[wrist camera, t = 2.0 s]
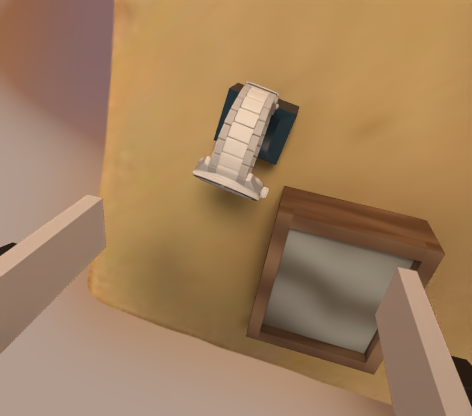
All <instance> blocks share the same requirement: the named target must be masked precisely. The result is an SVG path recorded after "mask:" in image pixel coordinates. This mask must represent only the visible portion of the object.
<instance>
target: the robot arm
mask: <svg viewBox="0 0 472 416" xmlns="http://www.w3.org/2000/svg"><path fill="white" fill-rule="evenodd" d="M105 247H106V239H105V225H104V211H103V198H99V197H95V196H90V195H86V196H85V197H83V198H82V199H81V200H79V201H78V202H76V203H75V204H74V205H72V206H71V207H69V208H68V209H66V210H65V211H64V212H62V213H61V214H60V215H58V216H56V217H55V218H54V219H52V220H51V221H49V222H48V223H47V224H45V225H44V226H42V227H41V228H40V229H38V230H37V231H35V232H34V233H32V234H31V235H30V236H28V237H27V238H25V239H24V240H22V241H21V242H20V243H18V244H16V243H10V244H8V245H5V246H3V247H0V353H2V351H4V349H6V347H7V346H9V344H10V343H11V342H12V341H13V340H14V339H15V338H16V337H17V336H18V335H19V334H20V333H21V332H22V331H23V330H24V329H25V328H26V327H27V326H28V325H29V324H30V323H31V322H32V321H33V320H34V319H35V318H36V317H37V316H38V315H39V314H40V313H41V312H42V311H43V310H44V309H45V308H46V307H47V306H48V305H49V304H50V303H51V302H52V301H53V300H54V299H55V298H56V297H57V296H58V295H59V294H60V293H61V292H62V291H63V290H64V289H65V288H66V287H67V286H68V285H69V284H70V283H71V282H72V281H73V280H74V279H75V278H76V277H77V276H78V275H79V274H80V273H81V272H82V271H83V270H84V269H85V268H86V267H87V266H88V265H89V264H90V263H91V262H92V261H93V260H94V259H95V258H96V257H97V256H98V255H99V254H100V253H101V252H102V251H103V250H104V249H105ZM375 317H376V322H377V327H378V332H379V337H380V342H381V348H382V353H383V358H384V363H385V368H386V373H387V378H388V384H389V389H390V394H391V399H392V404H393V409H394V414H395V416H472V365H471V364H470V363H469V362H468V361H467V360H465V359H462V358H458V357H454V356H451V355H450V352H449V350H448V347H447V345H446V343H445V340H444V338H443V335H442V333H441V330H440V328H439V325H438V323H437V320H436V318H435V315H434V313H433V310H432V308H431V305H430V303H429V300H428V298H427V295H426V293H425V290H424V288H423V285H422V283H421V280H420V278H419V275H418V273H417V271H413V270H409V269H404V268H400V267H397V269H396V271H395V273H394V275H393V278H392V280H391V282H390V284H389V286H388V288H387V290H386V293H385V295H384V297H383V299H382V301H381V303H380V305H379V308H378V310H377V312H376V314H375Z"/></svg>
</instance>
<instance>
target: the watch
mask: <svg viewBox="0 0 472 416" xmlns="http://www.w3.org/2000/svg"><path fill="white" fill-rule="evenodd" d="M298 109H299V106H296V105H294V104H291V103H288V102H286V101H283V100H281V99H279V94H278V93H277V92H275V91H273V90H270V89H268V88H265V87H262V86H260V85H257V84H255V83H252V82H249V81H247V82H246V83H245V85H242V84H240V83H237V84H236V85H234V86H232V87H231V88H229V91H228V94H227V98H226V101H225V104H224V108H223V111H222V114H221V118H220V121H219V124H218V128H217V131H216V134H215V138H214V140H215V141H217V142H216V145H215V148H214V150H213V154H212V157H208V156H206V157H205V158H201V159H200V160H199V161H198V164H197V166H196V170H195V171H193V173H192V174H193V175H194V176H196V177H197V178H199V179H201V180H203V181H205V182H207V183H209V184H212V185H214V186H217V187H219V188H221V189H224V190H226V191H229V192H231V193H234V194H236V195H239V196H242V197H244V198H247V199H251V200H256V201H258V200H259V198H260V197H261V198H264V199H265V198H266V196H267V194H268V191H269V188H266V187H263V183H262V182H261V180H260V179H259V178H257V177H256V176H254V175H253V174H251V172H252V169H253V167H254V164H255V161H256V158H257V157H258V158H260V159H263V160H265V161H268V162H270V163H273V164H277V161H278V159H279V156H280V154H281V152H282V149H283V147H284V144H285V142H286V140H287V137H288V135H289V133H290V130H291V128H292V125H293V123H294V121H295V118H296V116H297V113H298ZM253 156H254V157H253ZM262 187H263V188H262ZM259 195H260V197H259Z"/></svg>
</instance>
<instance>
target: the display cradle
mask: <svg viewBox="0 0 472 416" xmlns="http://www.w3.org/2000/svg"><path fill="white" fill-rule="evenodd" d="M444 255H445V253H444V251H443V249H442V247H441V246H440V244H439V242H438V240H437V238H436V237H435V235H434V233H433V231H432V229H431V227H430V226H429V224H428V222H427V221H426V220H422V219H418V218H414V217H410V216H406V215H402V214H397V213H393V212H389V211H385V210H381V209H377V208H373V207H369V206H365V205H361V204H356V203H352V202H348V201H344V200H340V199H336V198H332V197H328V196H324V195H319V194H315V193H311V192H307V191H303V190H299V189H295V188H291V187H287V186H284V190H283V194H282V198H281V202H280V205H279V209H278V213H277V217H276V221H275V225H274V228H273V232H272V236H271V240H270V244H269V248H268V251H267V255H266V259H265V263H264V267H263V271H262V275H261V278H260V282H259V286H258V290H257V294H256V298H255V301H254V305H253V310H252V314H251V318H250V322H249V326H248V330H247V334H246V336H247V337H250V338H253V339H257V340H260V341H264V342H267V343H270V344H274V345H277V346H280V347H284V348H287V349H290V350H294V351H297V352H300V353H304V354H307V355H310V356H314V357H317V358H320V359H324V360H327V361H330V362H334V363H337V364H340V365H344V366H347V367H350V368H354V369H357V370H360V371H364V372H367V373H370V374H375V372H376V370H377V369H378V367H379V365H380V363H381V362H382V360H383V353H382V348H381V342H380V337H379V332H378V327H377V322H376V317H375V314H376V312H377V310H378V308H379V305H380V303H381V301H382V299H383V297H384V295H385V293H386V290H387V288H388V286H389V284H390V282H391V280H392V278H393V275H394V273H395V271H396V269H397V267H400V268H404V269H409V270H413V271H417V273H418V275H419V278H420V280H421V283H422V285H423V288H424V289H425V287H426V285H427V284H428V282H429V280H430V279H431V277H432V275H433V274H434V272H435V270H436V268H437V267H438V265H439V263H440V262H441V260H442V258H443V257H444Z"/></svg>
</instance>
